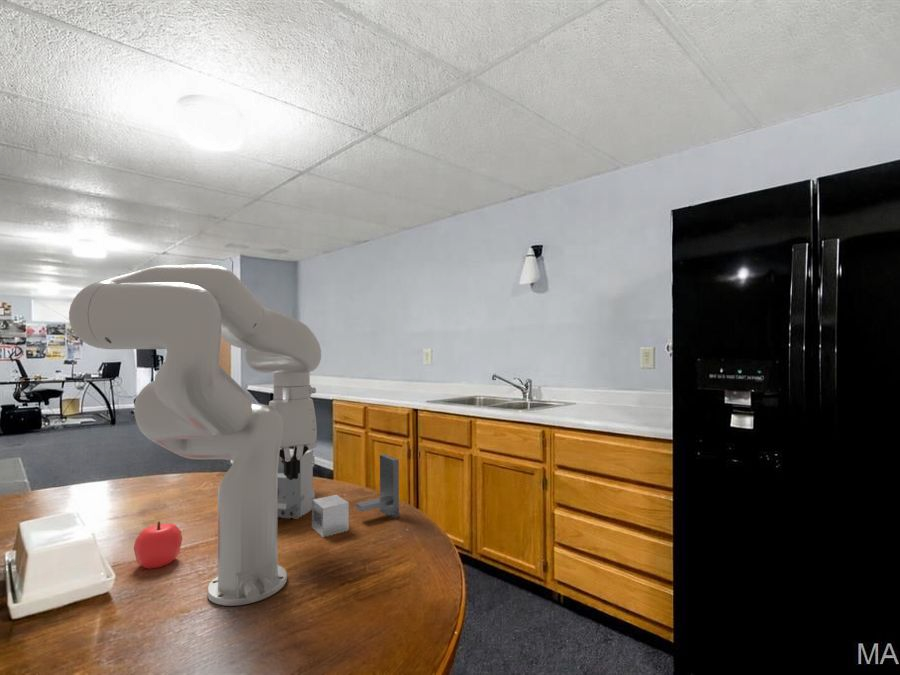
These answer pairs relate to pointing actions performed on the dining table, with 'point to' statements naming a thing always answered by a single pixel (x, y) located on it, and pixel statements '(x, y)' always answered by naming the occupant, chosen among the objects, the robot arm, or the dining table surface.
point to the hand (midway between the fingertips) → (291, 477)
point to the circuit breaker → (296, 488)
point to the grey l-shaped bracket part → (386, 489)
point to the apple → (158, 545)
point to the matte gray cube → (330, 515)
